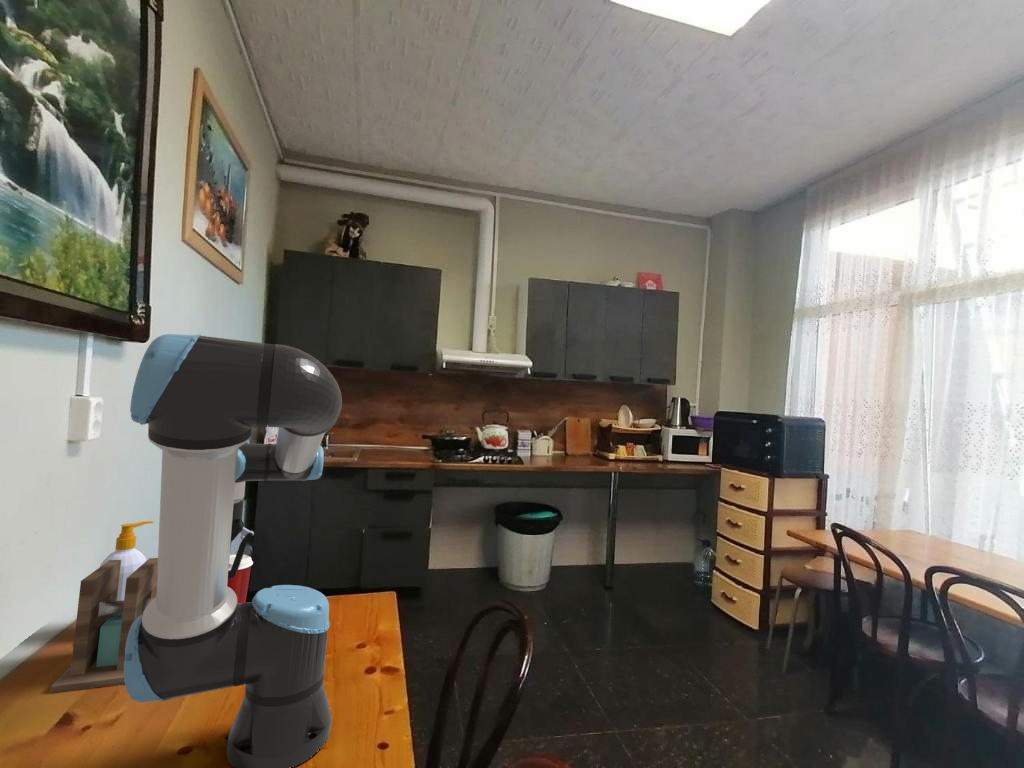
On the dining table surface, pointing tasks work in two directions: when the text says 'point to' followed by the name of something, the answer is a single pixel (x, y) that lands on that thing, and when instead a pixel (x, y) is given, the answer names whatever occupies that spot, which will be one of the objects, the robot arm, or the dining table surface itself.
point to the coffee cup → (240, 577)
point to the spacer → (109, 642)
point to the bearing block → (88, 624)
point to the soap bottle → (126, 555)
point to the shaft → (117, 608)
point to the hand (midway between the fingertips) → (213, 610)
